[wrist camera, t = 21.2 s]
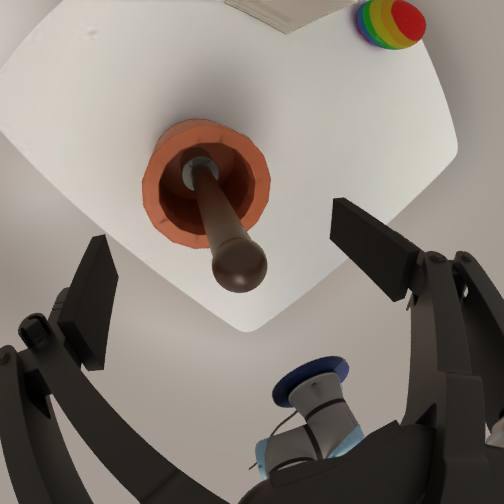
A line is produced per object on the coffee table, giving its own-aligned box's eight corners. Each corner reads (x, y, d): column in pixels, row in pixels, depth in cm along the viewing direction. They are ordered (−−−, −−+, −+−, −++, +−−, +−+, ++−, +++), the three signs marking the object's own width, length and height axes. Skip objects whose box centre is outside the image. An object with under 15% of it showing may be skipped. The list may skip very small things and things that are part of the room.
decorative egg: (365, 57, 28) (416, 54, 20) (338, 8, 24) (386, -8, 16) (398, 44, 28) (447, 43, 20) (376, -1, 23) (423, -11, 15)
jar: (215, 212, 35) (236, 261, 25) (140, 185, 30) (126, 227, 20) (251, 140, 31) (291, 159, 21) (173, 106, 27) (174, 105, 17)
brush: (209, 145, 30) (290, 233, 10) (212, 174, 31) (287, 304, 12) (178, 149, 29) (195, 250, 10) (181, 179, 31) (208, 321, 12)
